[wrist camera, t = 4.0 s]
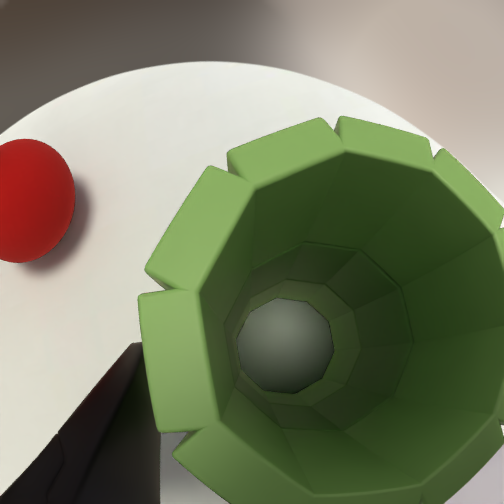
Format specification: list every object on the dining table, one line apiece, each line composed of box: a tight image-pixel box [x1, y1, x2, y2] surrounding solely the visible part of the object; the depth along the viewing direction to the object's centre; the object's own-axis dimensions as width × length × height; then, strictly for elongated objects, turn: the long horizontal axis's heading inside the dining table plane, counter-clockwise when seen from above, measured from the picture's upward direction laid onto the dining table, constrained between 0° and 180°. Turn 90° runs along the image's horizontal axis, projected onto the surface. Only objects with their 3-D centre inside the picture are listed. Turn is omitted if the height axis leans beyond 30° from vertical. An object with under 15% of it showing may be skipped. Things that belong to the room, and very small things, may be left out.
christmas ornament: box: [0, 139, 75, 263], centre depth 12 cm, size 7×7×10 cm
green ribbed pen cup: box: [138, 116, 504, 504], centre depth 9 cm, size 6×7×12 cm
